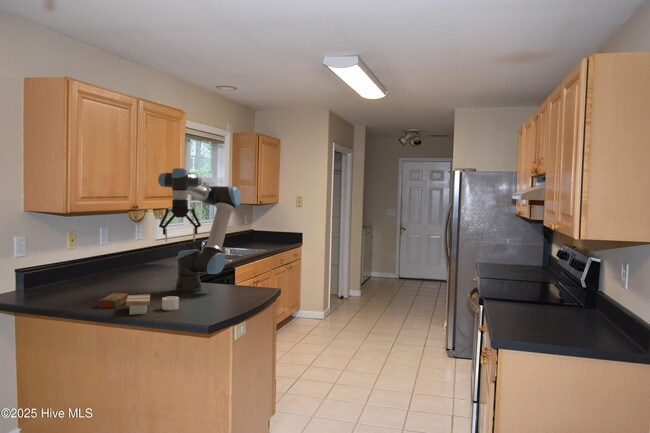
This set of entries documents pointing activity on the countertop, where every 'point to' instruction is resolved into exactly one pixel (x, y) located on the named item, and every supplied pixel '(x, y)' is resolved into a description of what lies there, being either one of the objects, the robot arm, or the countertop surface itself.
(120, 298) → the carton
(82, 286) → the countertop surface
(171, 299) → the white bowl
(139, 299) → the maple board
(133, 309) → the green stand
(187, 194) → the robot arm
